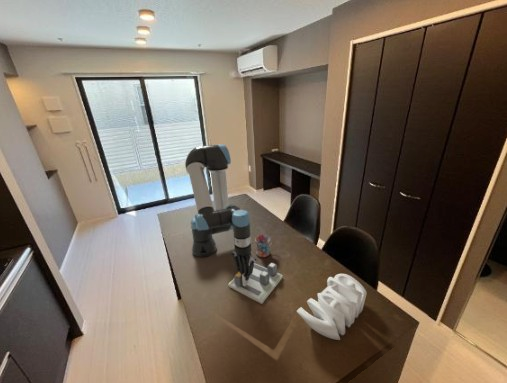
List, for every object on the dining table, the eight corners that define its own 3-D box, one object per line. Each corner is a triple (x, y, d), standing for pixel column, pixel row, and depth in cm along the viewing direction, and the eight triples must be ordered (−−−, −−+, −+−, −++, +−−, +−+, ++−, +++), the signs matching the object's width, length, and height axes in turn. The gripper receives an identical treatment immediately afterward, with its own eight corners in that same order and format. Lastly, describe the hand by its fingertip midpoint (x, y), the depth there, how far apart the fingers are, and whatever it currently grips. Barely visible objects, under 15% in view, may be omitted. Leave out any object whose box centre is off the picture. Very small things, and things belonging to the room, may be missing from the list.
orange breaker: (234, 284, 113) (234, 275, 111) (239, 279, 116) (238, 271, 114) (240, 286, 111) (239, 277, 109) (244, 282, 114) (244, 273, 112)
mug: (259, 260, 133) (259, 245, 129) (252, 252, 141) (252, 237, 137) (277, 254, 138) (277, 239, 134) (269, 246, 146) (269, 232, 142)
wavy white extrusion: (326, 355, 82) (328, 334, 78) (292, 324, 94) (292, 304, 90) (372, 303, 102) (376, 285, 98) (339, 283, 114) (341, 266, 110)
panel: (228, 286, 115) (227, 274, 112) (251, 264, 130) (250, 253, 127) (261, 304, 104) (261, 291, 101) (282, 277, 119) (282, 266, 116)
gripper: (226, 243, 103) (230, 283, 112) (249, 252, 96) (252, 294, 105) (236, 235, 109) (239, 274, 118) (259, 243, 102) (260, 284, 110)
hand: (245, 284), depth 111 cm, fingers closed
